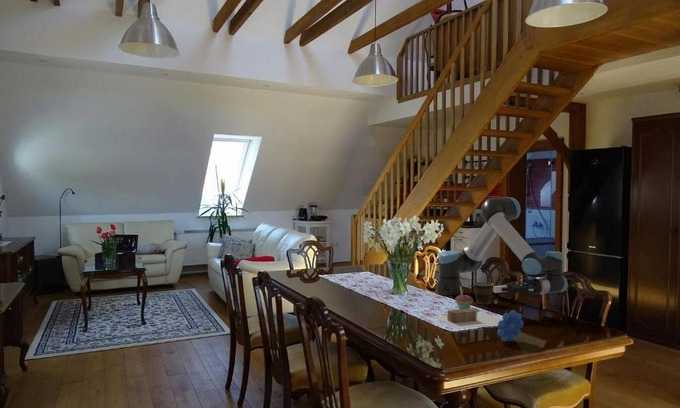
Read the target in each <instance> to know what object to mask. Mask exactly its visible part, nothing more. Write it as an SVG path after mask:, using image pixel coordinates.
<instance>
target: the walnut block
mask: <svg viewBox="0 0 680 408" xmlns="http://www.w3.org/2000/svg"><path fill="white" fill-rule="evenodd" d="M477 312H478V310H477V309H475V308H472V307H470V308H466V309H459V308H458V309H447V313H446V314H447V320H448V321H450V322H452V323H461V322H470V321H477Z"/></svg>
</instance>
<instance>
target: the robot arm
mask: <svg viewBox="0 0 680 408" xmlns="http://www.w3.org/2000/svg"><path fill="white" fill-rule="evenodd" d="M521 209H522V208H521V204H520V203H519V201H518V200H517V199H516V198H514V197H508V196H507V197H490V198H487V199H486V200H484V202H483V203H482V204H481V207H480V212H481V217H482V219H483V221H484V224H483V226H482V227H481V228H480V230H479V231H478V233H476V236H475V237H474V238H473V240H472V242H471V243H470V244H469V245H466V246H465V247H464V248H463V250H462V251H461V252H460V251H459V250H447V251H442V252H440V254H439V255H438V281H437V284H436V288H435V293H436V294H438V295H442V296H459V295H461V291H460V286H461V289H462V295H464V287H463V283H462V282H461V274H466V273H473V272H477V271H479V270H481V268H482V266H483V265H484V263H483V261H484V256H483V255H484V253H485V252H486V250H487V249H488V248H489V246H490V245H491V243H492V242H493V241H494V239H495V238H496V237H497V235H498V236H500V238H501V239H502V241H504V243H505V244H506V245H507V246H508V247H509V248H510V250H511V251H512V252H513V253H514V255H516V257H517V258H518V259H519V260H520V262H521V268H522V271H523V272H524V274H527V275H530V276H531V275H541V274H545V275H544V276H541V277H530V278H528V279H526V281H521V282H517V281H513V282H508V283H503V284H502V285H495V286H493V292H492V293H495V294H497V293H507V292H508V293H513V294H515V293H518V294H519V293H527V294H530V295H543V294H548V293H549V294H550V293H551V294H552V293H557V294H558V293H562V292H565V291H566V290H568V287H569V282H568V279H567V278H566V276H564V275H563V269H564V260H563V256H564V255H563V253H562V251H555V250H554V251H553V250H550V251H549V250H547V251H546V252H545V255H544V256H539V255H538V254H537V253H536V252H535V251H534V249H533V248H532V247H531V245H529V244H528V242H527V241H526V240H525V239H524V238H523V237H522V236H521V234H520V233H519V232H518V230H516V229H515V228H514V226H512V224H511V223H510V222H511V221H512V220H516V219H518V218H519V217H520V215H521V212H522V211H521Z"/></svg>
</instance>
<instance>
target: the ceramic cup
mask: <svg viewBox="0 0 680 408" xmlns="http://www.w3.org/2000/svg"><path fill="white" fill-rule="evenodd" d="M493 286H494V283H492V282H488V281H487V282H485V281H477V282H474V283H473V285H472V284H469V285H468V286H467V290H468V291H469V292H471V293H472V294H473V295H474V297H475V300H476V303H477V304H479V305H481V306H482V305H491V303H492V297H493V293H494V292H493ZM469 287H472V288H473V290H474V292H473V291H472V290H471V289H470V288H469Z"/></svg>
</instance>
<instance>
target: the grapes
mask: <svg viewBox="0 0 680 408" xmlns="http://www.w3.org/2000/svg"><path fill="white" fill-rule="evenodd" d="M522 318H523V316H522V313H519V312H517V311H516V310H510V311H509V313H508V312H505V313H504V314H503V315H502V320H501V321H499V323H498V324H497V326H498V330H497V332H496V333H497V336H499V337H500V338H501V342H507V341H509V342H513V341H515V339H516V337H519V336H520V335H521V333H522V329H521V328H523V326H524V324H525V322H524V321H523V320H522Z"/></svg>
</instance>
